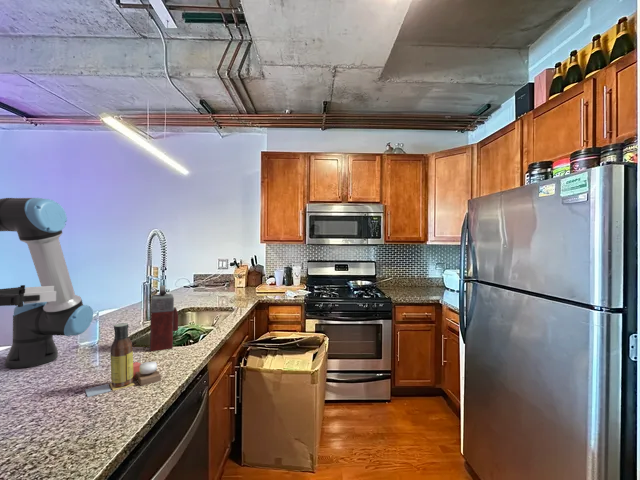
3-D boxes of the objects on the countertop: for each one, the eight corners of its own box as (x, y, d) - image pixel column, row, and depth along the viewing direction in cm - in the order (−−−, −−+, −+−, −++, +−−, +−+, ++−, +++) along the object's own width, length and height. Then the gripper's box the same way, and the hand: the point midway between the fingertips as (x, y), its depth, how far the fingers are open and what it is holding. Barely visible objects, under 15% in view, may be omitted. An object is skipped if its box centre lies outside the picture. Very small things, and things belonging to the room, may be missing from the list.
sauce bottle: (129, 377, 107) (130, 320, 107) (136, 383, 103) (137, 323, 103) (107, 384, 102) (108, 324, 102) (114, 390, 98) (114, 327, 98)
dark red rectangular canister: (178, 347, 140) (179, 285, 140) (149, 351, 134) (151, 287, 135) (176, 342, 148) (178, 283, 148) (149, 345, 142) (151, 284, 143)
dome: (137, 370, 107) (137, 364, 107) (154, 366, 111) (154, 360, 111) (141, 375, 103) (141, 368, 103) (158, 371, 107) (158, 364, 107)
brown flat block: (135, 378, 108) (135, 372, 108) (154, 373, 112) (154, 367, 112) (141, 386, 102) (141, 379, 102) (160, 380, 106) (160, 375, 106)
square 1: (85, 390, 98) (85, 389, 98) (107, 384, 102) (107, 384, 102) (87, 397, 94) (87, 396, 94) (111, 391, 98) (111, 390, 98)
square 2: (109, 384, 103) (109, 383, 103) (130, 379, 107) (130, 378, 107) (112, 390, 98) (112, 390, 98) (134, 385, 102) (134, 384, 102)
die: (124, 376, 109) (125, 365, 109) (136, 372, 112) (136, 361, 113) (130, 379, 107) (130, 367, 107) (142, 375, 110) (142, 364, 110)
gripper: (-48, 307, 86) (52, 299, 100) (-71, 325, 68) (56, 313, 82) (-47, 280, 86) (53, 276, 100) (-70, 291, 68) (57, 284, 82)
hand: (55, 292), depth 91 cm, fingers open, 13 cm apart
